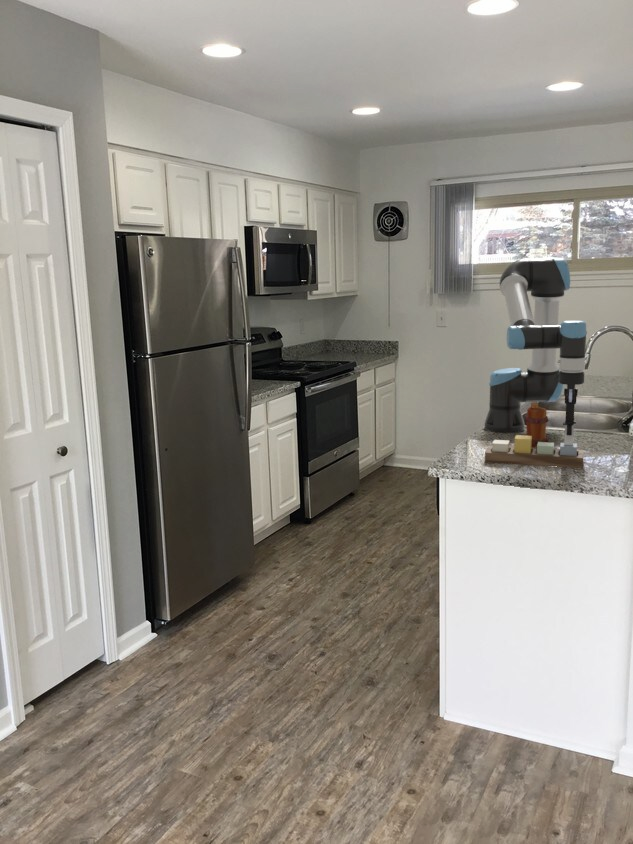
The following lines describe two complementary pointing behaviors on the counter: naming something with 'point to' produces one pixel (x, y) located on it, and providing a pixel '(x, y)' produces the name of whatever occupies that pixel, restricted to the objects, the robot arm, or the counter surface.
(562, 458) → the keypad board
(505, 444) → the key cream
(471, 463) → the counter surface
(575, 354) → the robot arm
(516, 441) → the key mustard
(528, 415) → the orange bottle
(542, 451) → the key sage
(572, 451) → the key slate
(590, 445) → the counter surface
